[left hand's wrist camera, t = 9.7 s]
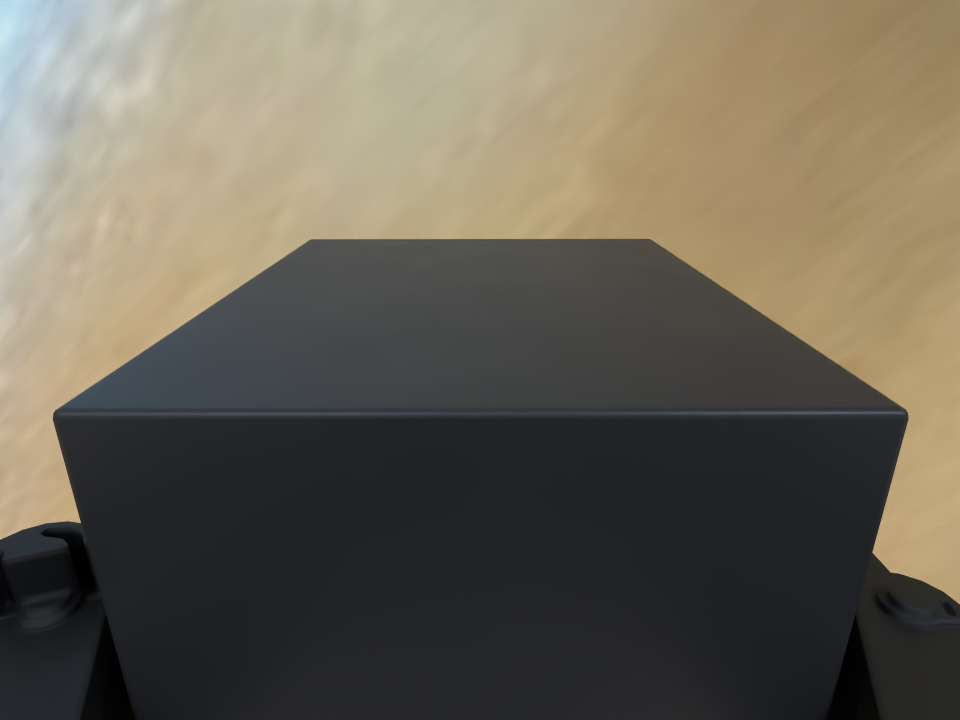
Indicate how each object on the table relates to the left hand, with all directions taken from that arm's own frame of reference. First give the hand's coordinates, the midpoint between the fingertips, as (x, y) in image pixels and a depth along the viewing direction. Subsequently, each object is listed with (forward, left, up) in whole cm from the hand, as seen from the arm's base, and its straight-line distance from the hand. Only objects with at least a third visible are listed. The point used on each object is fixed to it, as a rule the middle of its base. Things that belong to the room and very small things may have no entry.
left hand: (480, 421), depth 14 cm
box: (+6, +5, -1) cm, 8 cm away
